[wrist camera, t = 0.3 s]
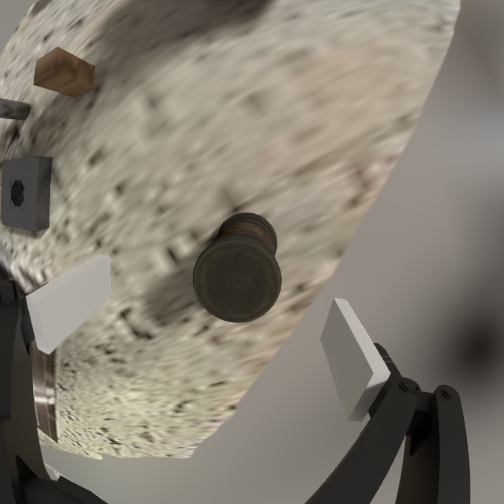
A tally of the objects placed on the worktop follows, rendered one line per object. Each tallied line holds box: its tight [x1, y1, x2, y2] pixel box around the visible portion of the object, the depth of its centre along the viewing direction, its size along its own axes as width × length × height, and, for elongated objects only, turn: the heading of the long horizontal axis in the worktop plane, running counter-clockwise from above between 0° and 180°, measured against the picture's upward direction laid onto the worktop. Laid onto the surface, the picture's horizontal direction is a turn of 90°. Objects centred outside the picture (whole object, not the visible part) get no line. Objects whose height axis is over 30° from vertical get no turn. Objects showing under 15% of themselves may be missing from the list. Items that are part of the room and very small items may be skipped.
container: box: [193, 213, 282, 323], centre depth 33 cm, size 9×9×18 cm
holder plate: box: [1, 157, 53, 231], centre depth 39 cm, size 14×14×4 cm
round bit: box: [0, 98, 30, 120], centre depth 28 cm, size 4×4×16 cm
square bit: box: [33, 47, 95, 97], centre depth 29 cm, size 5×5×12 cm
